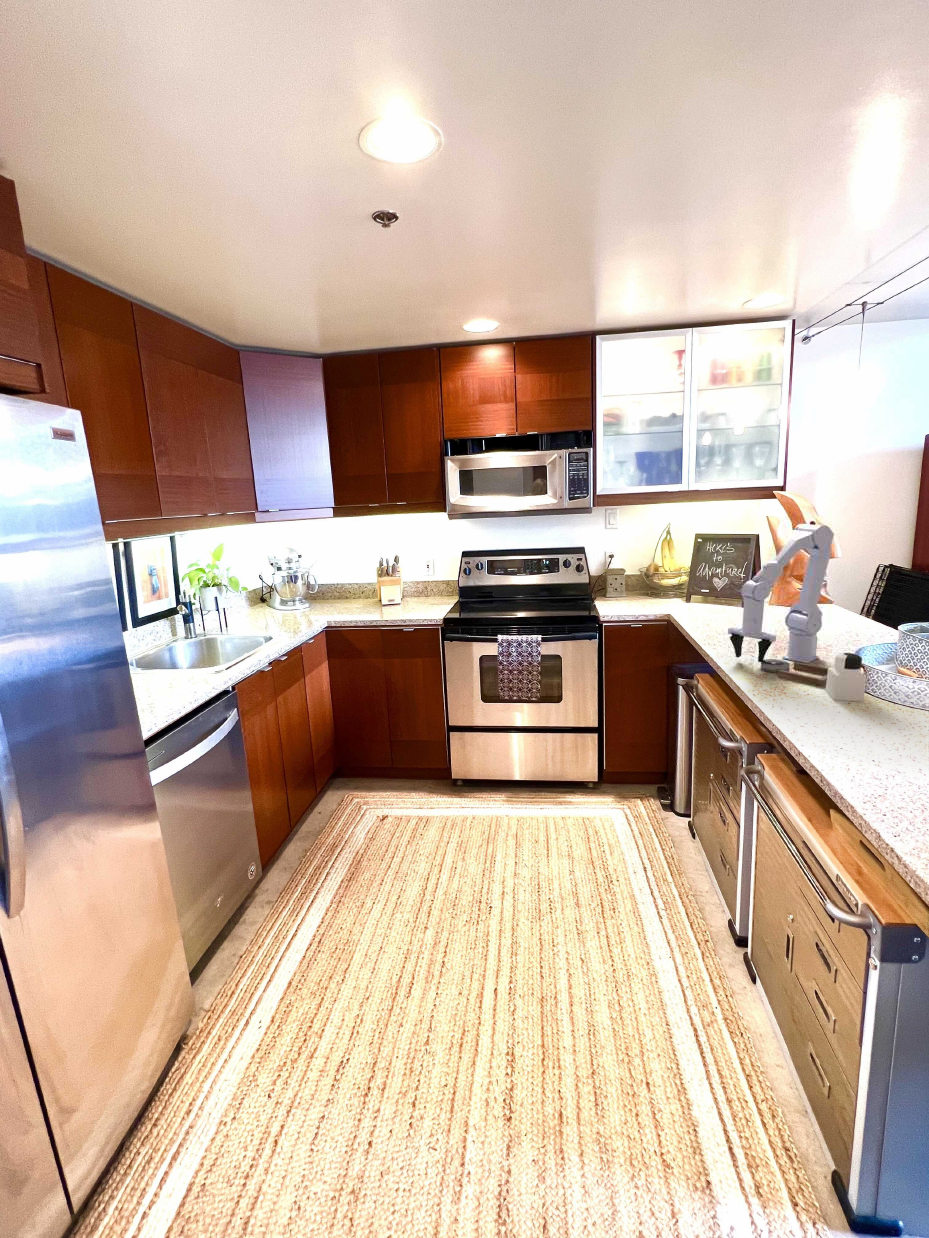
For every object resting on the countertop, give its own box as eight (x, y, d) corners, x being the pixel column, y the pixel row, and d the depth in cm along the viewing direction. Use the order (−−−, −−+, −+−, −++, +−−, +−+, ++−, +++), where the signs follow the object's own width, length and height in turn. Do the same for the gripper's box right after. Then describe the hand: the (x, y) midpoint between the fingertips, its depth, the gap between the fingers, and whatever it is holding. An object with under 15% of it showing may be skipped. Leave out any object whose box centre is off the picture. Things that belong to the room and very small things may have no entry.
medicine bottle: (853, 692, 161) (859, 651, 158) (863, 702, 154) (869, 659, 152) (825, 691, 163) (829, 650, 160) (833, 700, 156) (838, 657, 154)
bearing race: (767, 664, 187) (768, 657, 187) (793, 670, 181) (794, 662, 181) (755, 670, 183) (756, 662, 182) (782, 676, 177) (783, 668, 176)
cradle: (795, 667, 183) (795, 661, 183) (838, 676, 174) (839, 670, 173) (777, 676, 175) (778, 670, 175) (822, 686, 166) (822, 680, 166)
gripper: (724, 617, 188) (721, 657, 191) (770, 624, 177) (766, 666, 180) (735, 613, 192) (732, 652, 195) (780, 620, 181) (776, 661, 184)
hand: (749, 659), depth 188 cm, fingers open, 7 cm apart
